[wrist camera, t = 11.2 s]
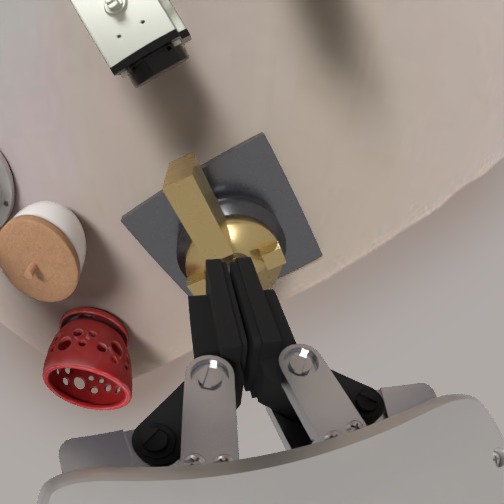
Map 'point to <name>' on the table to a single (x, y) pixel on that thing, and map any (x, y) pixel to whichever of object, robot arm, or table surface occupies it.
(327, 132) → the table surface
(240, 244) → the gold slotted fixture
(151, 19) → the pneumatic valve
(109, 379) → the plant pot
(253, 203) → the housing
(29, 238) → the lidded jar
